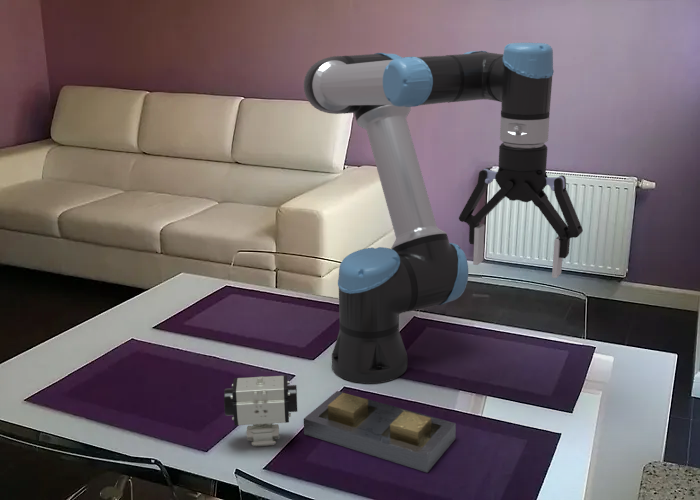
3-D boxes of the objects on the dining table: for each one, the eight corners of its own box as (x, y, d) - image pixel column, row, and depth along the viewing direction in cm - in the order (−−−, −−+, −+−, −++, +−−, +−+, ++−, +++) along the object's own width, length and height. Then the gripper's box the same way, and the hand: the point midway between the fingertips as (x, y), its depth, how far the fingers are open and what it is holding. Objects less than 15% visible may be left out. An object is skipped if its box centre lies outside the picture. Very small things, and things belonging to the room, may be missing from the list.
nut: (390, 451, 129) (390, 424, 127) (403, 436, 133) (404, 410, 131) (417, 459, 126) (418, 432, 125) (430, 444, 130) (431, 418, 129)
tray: (304, 434, 134) (303, 418, 133) (337, 405, 143) (337, 390, 142) (427, 472, 123) (427, 456, 122) (455, 439, 132) (455, 423, 131)
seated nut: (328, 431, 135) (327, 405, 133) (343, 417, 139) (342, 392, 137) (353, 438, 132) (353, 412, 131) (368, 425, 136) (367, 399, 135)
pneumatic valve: (229, 436, 134) (224, 372, 130) (298, 432, 134) (295, 368, 131) (227, 454, 128) (222, 388, 125) (298, 450, 129) (296, 384, 125)
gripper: (441, 140, 128) (438, 263, 135) (597, 154, 116) (585, 288, 123) (459, 133, 134) (456, 251, 141) (609, 145, 122) (597, 274, 129)
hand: (516, 269), depth 132 cm, fingers open, 13 cm apart
